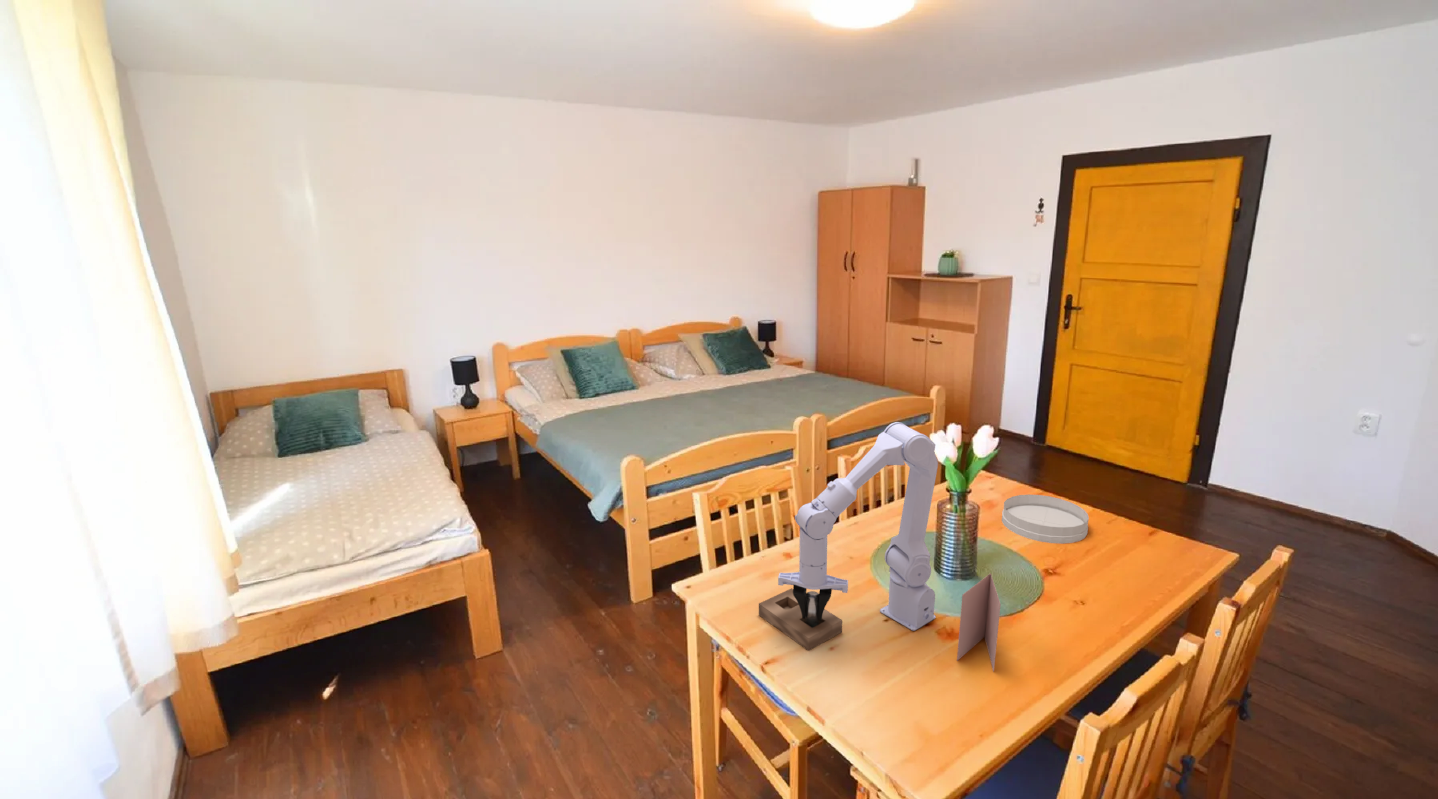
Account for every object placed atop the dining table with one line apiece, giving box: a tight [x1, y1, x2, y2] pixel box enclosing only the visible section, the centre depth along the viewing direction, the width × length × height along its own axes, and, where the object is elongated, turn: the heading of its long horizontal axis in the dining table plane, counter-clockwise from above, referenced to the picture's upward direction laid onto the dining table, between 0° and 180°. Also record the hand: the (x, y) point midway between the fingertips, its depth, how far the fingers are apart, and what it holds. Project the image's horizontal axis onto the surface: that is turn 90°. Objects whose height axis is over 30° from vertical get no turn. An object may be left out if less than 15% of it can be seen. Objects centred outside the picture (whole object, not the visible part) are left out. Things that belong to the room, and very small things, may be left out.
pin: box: [806, 590, 819, 628], centre depth 137 cm, size 3×3×7 cm
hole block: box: [758, 588, 843, 651], centre depth 141 cm, size 16×10×3 cm, turn 36°
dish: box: [1001, 494, 1090, 544], centre depth 183 cm, size 22×22×5 cm
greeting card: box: [956, 573, 1001, 673], centre depth 128 cm, size 11×7×15 cm, turn 131°
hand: (812, 616), depth 138 cm, fingers closed on pin, 3 cm apart
